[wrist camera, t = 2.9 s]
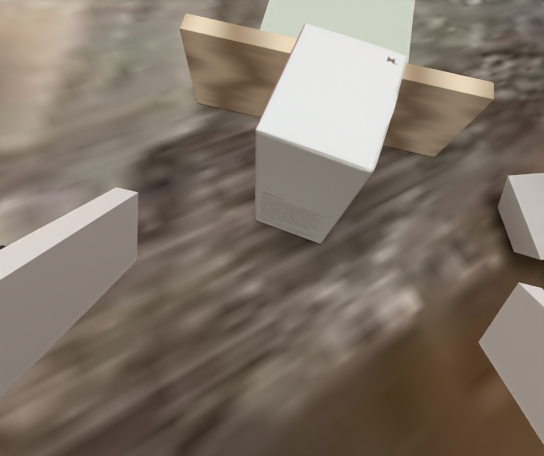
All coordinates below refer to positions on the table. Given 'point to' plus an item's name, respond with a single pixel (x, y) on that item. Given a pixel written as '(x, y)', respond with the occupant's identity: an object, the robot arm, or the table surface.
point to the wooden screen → (273, 56)
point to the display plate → (346, 20)
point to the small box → (323, 130)
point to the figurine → (524, 213)
